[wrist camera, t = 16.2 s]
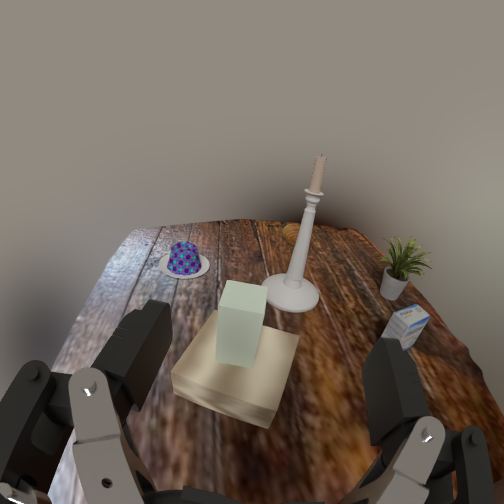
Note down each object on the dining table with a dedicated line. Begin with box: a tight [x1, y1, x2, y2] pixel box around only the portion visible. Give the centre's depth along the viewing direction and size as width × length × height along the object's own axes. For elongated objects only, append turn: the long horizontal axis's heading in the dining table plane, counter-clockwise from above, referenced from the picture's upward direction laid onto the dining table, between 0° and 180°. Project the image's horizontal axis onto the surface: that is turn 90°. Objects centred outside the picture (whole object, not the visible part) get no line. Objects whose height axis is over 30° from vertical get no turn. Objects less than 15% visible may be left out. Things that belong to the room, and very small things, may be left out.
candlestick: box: [262, 156, 327, 312], centre depth 52 cm, size 13×13×30 cm
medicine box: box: [381, 304, 430, 351], centre depth 45 cm, size 8×4×9 cm, turn 112°
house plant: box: [380, 236, 432, 301], centre depth 59 cm, size 14×14×16 cm
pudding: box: [159, 242, 210, 279], centre depth 62 cm, size 12×12×5 cm
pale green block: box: [215, 280, 268, 368], centre depth 34 cm, size 5×5×10 cm
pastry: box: [282, 224, 300, 245], centre depth 83 cm, size 9×7×4 cm
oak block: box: [171, 310, 299, 429], centre depth 37 cm, size 14×14×6 cm
